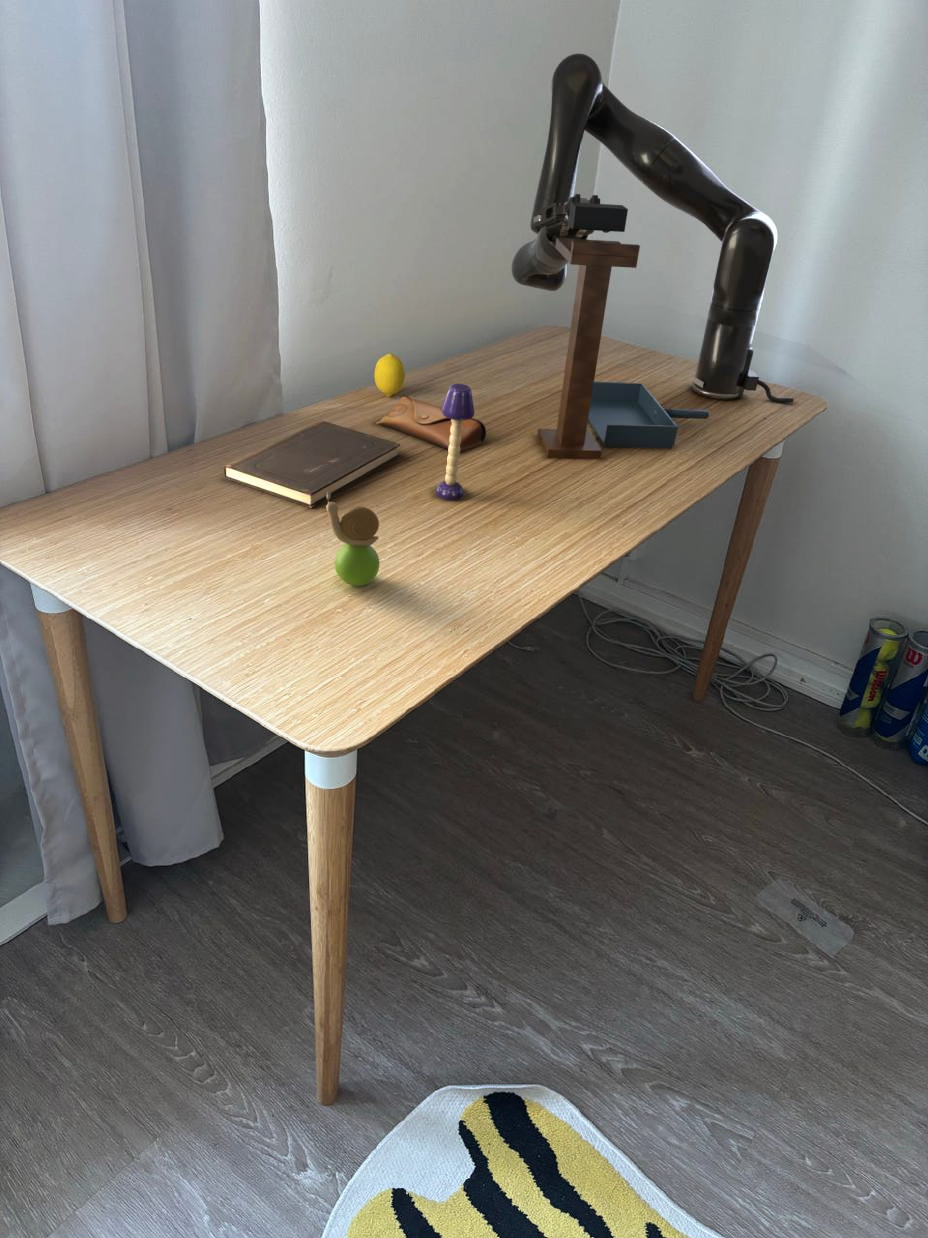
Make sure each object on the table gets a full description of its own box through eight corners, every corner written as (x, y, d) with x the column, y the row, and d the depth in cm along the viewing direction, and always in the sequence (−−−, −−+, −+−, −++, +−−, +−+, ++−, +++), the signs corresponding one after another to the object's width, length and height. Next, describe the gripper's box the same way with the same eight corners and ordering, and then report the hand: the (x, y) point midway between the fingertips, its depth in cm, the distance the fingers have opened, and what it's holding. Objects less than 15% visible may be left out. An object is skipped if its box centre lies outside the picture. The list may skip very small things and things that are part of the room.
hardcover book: (399, 457, 148) (400, 443, 146) (311, 508, 130) (311, 493, 129) (318, 432, 154) (318, 419, 152) (223, 478, 136) (222, 464, 135)
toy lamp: (471, 492, 139) (480, 384, 130) (461, 504, 135) (470, 394, 126) (441, 485, 140) (448, 378, 131) (430, 498, 136) (437, 388, 127)
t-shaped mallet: (553, 211, 149) (555, 189, 147) (601, 213, 150) (604, 192, 148) (572, 229, 137) (575, 205, 135) (624, 231, 138) (628, 208, 136)
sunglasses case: (372, 422, 158) (385, 384, 157) (393, 432, 164) (407, 396, 163) (457, 452, 150) (472, 413, 149) (476, 462, 156) (491, 424, 155)
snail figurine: (327, 570, 117) (326, 483, 110) (378, 571, 117) (381, 485, 111) (325, 593, 112) (325, 504, 105) (379, 594, 113) (381, 505, 106)
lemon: (406, 392, 172) (407, 350, 168) (401, 403, 168) (403, 359, 163) (376, 389, 173) (377, 347, 168) (371, 400, 168) (372, 356, 164)
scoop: (604, 446, 158) (607, 424, 156) (575, 400, 176) (578, 380, 174) (727, 449, 161) (732, 428, 159) (687, 404, 179) (691, 384, 177)
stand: (588, 434, 162) (620, 230, 144) (603, 460, 153) (640, 245, 134) (532, 433, 160) (557, 226, 142) (544, 459, 151) (573, 241, 133)
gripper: (521, 214, 160) (543, 173, 143) (599, 218, 162) (630, 178, 144) (521, 259, 160) (543, 223, 143) (598, 262, 162) (630, 227, 145)
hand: (587, 200), depth 144 cm, fingers closed on t-shaped mallet, 2 cm apart
